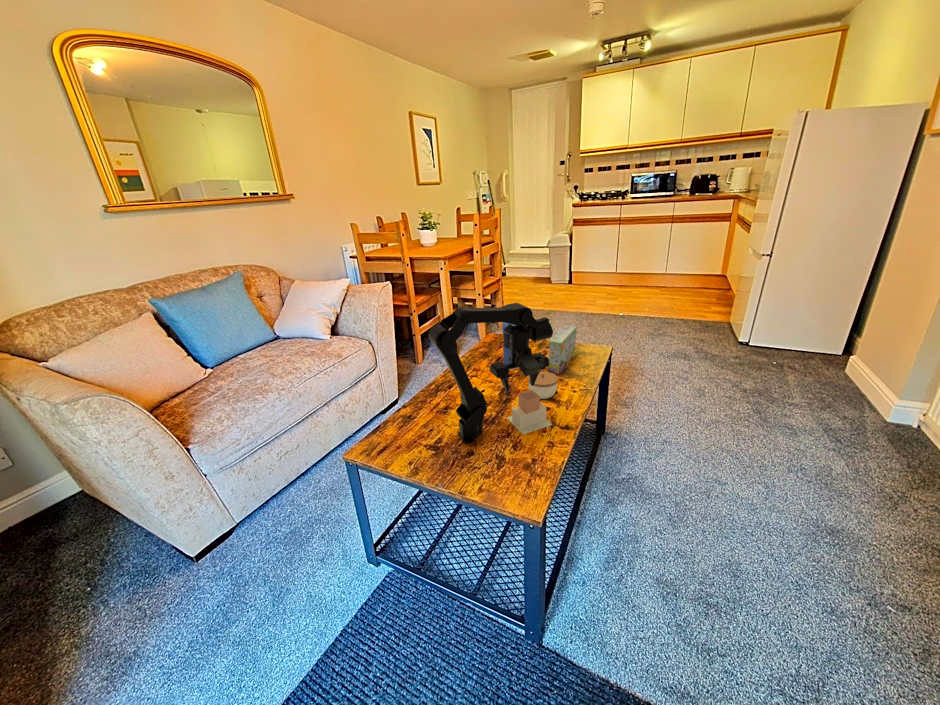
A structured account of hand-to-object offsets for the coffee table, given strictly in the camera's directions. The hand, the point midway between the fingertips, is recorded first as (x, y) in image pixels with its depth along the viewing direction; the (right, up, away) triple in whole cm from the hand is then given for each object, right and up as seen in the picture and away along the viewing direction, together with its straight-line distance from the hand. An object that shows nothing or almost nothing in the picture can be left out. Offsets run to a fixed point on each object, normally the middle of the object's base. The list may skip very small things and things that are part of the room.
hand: (519, 388), depth 128 cm
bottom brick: (+3, -11, +3) cm, 12 cm away
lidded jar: (+11, -5, +19) cm, 23 cm away
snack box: (+24, +6, +42) cm, 49 cm away
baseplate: (+3, -12, +3) cm, 13 cm away
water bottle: (+3, +7, +46) cm, 47 cm away
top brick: (+3, -6, +1) cm, 7 cm away
